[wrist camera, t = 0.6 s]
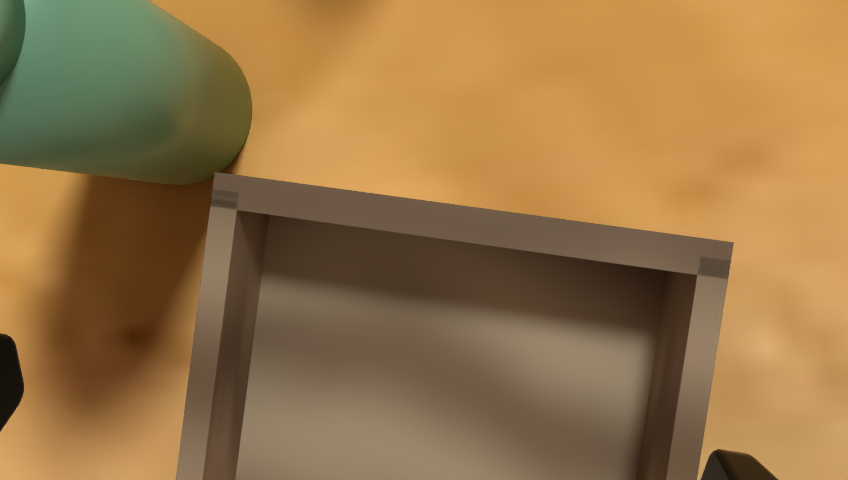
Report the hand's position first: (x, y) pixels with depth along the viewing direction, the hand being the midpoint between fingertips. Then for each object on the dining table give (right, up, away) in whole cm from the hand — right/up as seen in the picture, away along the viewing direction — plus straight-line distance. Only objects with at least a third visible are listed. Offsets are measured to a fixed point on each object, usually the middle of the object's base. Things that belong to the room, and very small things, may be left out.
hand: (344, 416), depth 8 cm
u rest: (+2, -3, +14) cm, 14 cm away
